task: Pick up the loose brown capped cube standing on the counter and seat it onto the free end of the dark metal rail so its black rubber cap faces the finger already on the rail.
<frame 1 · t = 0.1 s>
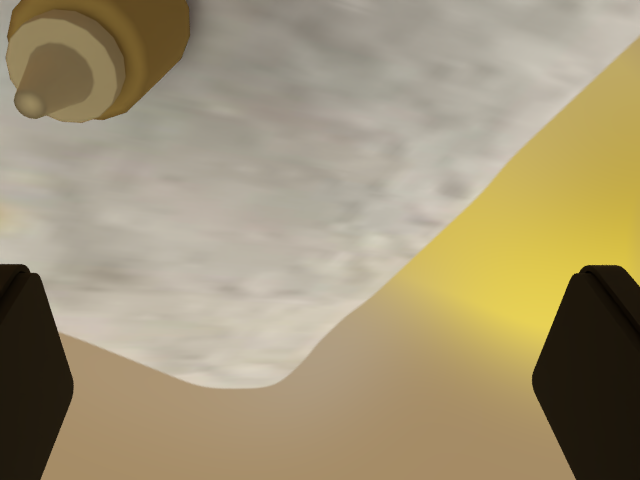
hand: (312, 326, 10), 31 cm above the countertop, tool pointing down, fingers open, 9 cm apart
squeeze bottle: (136, 2, 35), on the countertop
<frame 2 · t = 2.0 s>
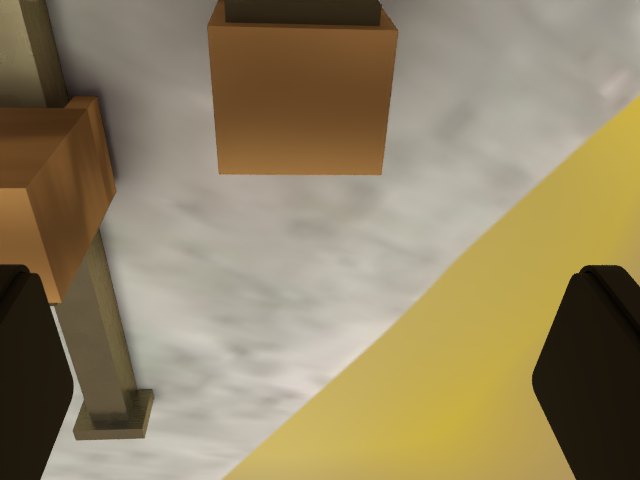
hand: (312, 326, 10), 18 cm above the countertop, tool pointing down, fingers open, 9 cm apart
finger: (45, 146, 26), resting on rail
brown capped cube: (295, 38, 25), on the countertop
rail: (78, 236, 30), on the countertop
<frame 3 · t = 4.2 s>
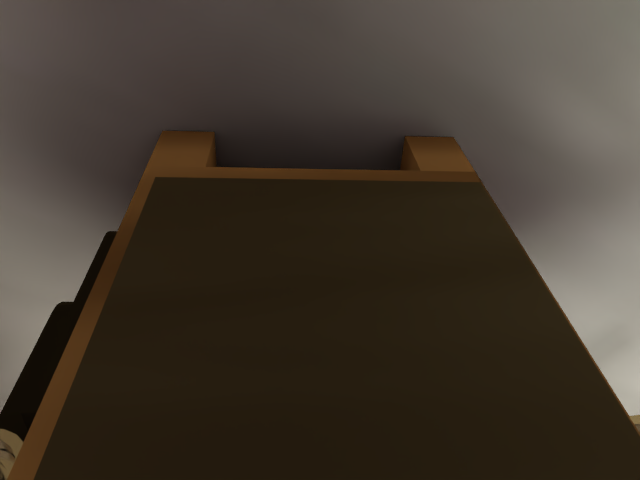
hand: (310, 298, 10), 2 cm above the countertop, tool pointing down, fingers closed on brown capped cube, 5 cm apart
brown capped cube: (306, 237, 12), on the countertop, touching gripper
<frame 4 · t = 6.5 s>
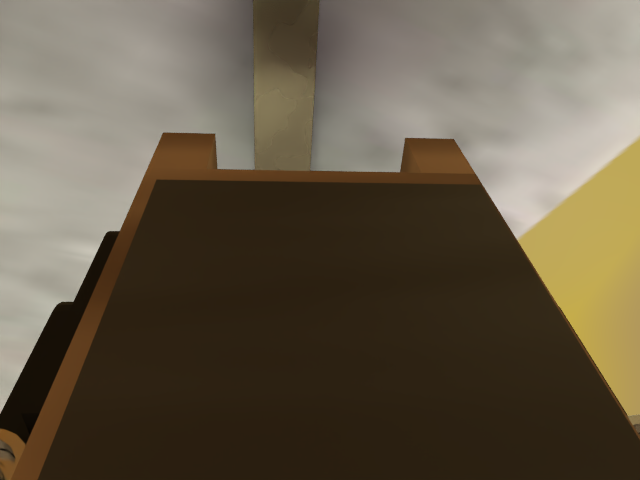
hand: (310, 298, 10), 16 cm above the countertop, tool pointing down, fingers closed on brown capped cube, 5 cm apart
brown capped cube: (306, 239, 12), point 14 cm above the countertop, touching gripper
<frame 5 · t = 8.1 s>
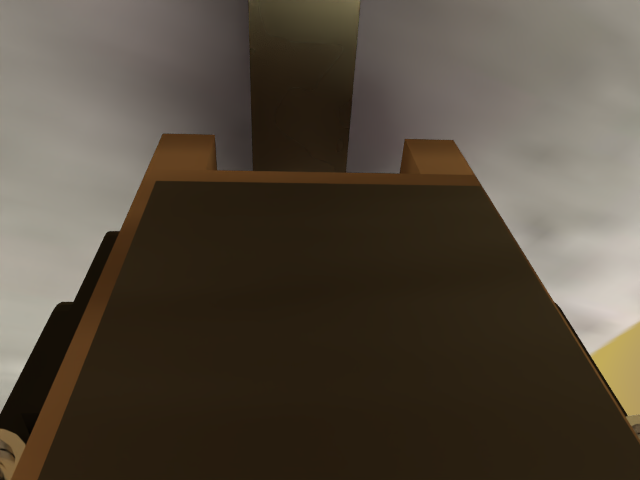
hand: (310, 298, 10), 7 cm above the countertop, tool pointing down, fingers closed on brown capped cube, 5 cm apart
brown capped cube: (306, 239, 12), point 5 cm above the countertop, touching gripper
when the fingers open (4 cm above the countertop, at t = 9.1 s): brown capped cube drops 1 cm, resting on rail.
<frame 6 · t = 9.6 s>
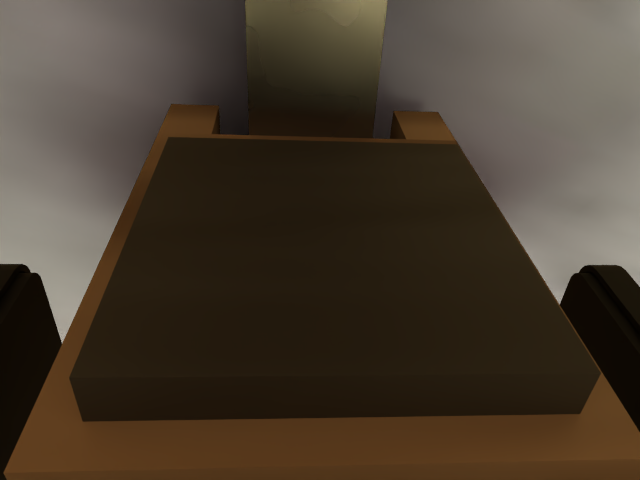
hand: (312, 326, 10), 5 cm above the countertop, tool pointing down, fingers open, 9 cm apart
brown capped cube: (303, 206, 13), point 1 cm above the countertop, touching rail
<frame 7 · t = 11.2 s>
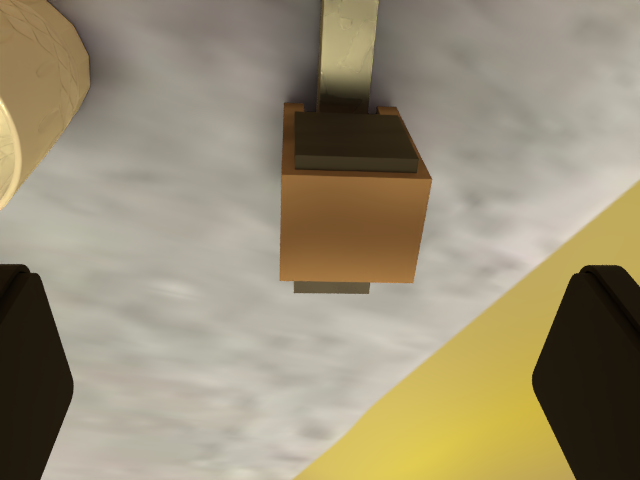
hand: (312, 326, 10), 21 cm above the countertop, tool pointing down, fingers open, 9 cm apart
white cup: (23, 58, 27), on the countertop
brown capped cube: (337, 150, 29), point 1 cm above the countertop, touching rail
rail: (344, 30, 27), on the countertop
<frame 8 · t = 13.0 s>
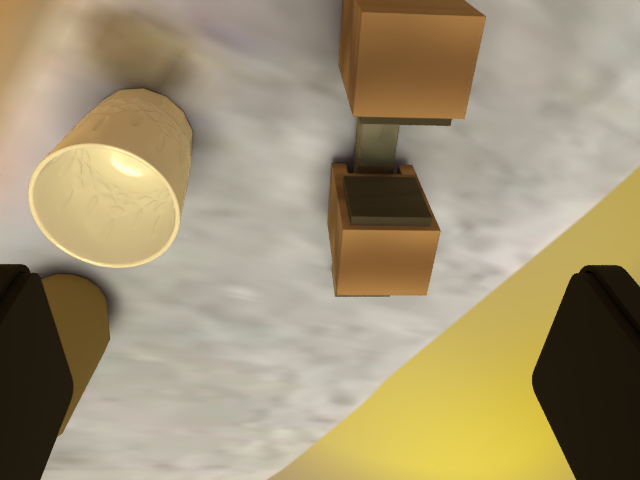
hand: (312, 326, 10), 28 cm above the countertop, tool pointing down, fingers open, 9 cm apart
white cup: (144, 133, 38), on the countertop
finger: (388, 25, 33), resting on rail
squeeze bottle: (72, 297, 45), on the countertop
brown capped cube: (368, 194, 40), point 1 cm above the countertop, touching rail
rail: (375, 112, 37), on the countertop
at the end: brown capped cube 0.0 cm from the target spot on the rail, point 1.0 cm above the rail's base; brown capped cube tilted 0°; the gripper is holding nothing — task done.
